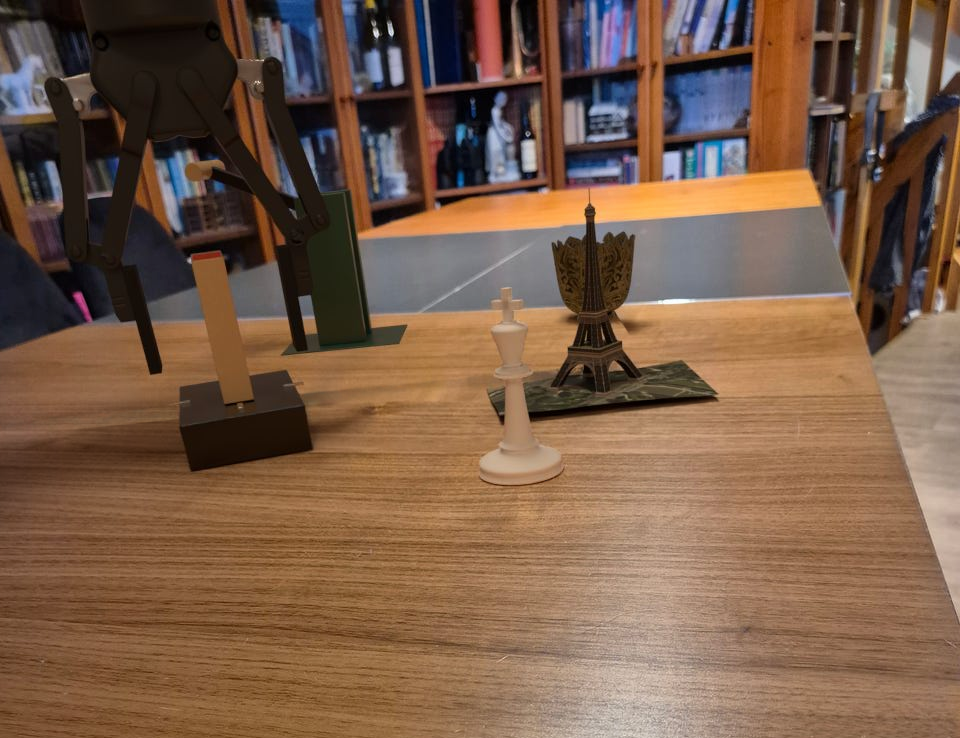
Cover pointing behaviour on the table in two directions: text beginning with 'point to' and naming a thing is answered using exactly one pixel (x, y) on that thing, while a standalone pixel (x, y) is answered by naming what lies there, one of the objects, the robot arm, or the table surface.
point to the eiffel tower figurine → (602, 359)
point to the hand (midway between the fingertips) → (229, 358)
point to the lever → (225, 178)
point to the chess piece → (516, 410)
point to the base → (242, 422)
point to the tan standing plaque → (222, 326)
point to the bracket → (340, 284)
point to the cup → (612, 267)
